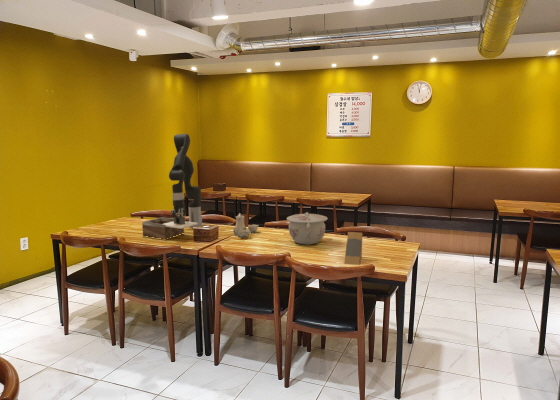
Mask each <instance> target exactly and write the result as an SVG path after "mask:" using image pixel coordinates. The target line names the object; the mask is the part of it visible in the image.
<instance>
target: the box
mask: <svg viewBox="0 0 560 400" xmlns="http://www.w3.org/2000/svg"><path fill="white" fill-rule="evenodd" d="M173 221H174V219H173V218H169V217H162V216H161V217H158V218H154V219H149V220H145V221H142V222H141V225H142V237H143V236H148V237H154V238H161V239H167V238H170V237H173V236H176V235H179V234H182V233H184V234H185V228H183V229H180V228H172V227H165V223H169V222H173ZM148 237H147V238H148ZM154 238H153V239H154ZM161 239H160V240H161ZM167 240H168V239H167Z"/></svg>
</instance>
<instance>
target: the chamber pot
mask: <svg viewBox="0 0 560 400" xmlns="http://www.w3.org/2000/svg"><path fill="white" fill-rule="evenodd" d="M286 220H287V221H289V224H288V232H289V235H290V237H291V239H292V240H293V242H294V243H297V244H298V245H303V246H305V245H306V246H312V245H315V244H318V243H320V242H321V241H322V240H323V238H324V237H325V233H326V224H325V222H326V221H327V220H328V217H327V216H325V215H322V214H318V213H317V214H316V213H309V212H308V211H306V212H305V213H299V214H298V213H296V214H293V215H290V216H287V217H286Z"/></svg>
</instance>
